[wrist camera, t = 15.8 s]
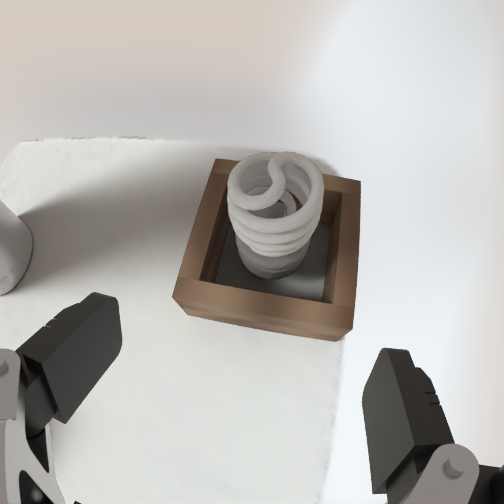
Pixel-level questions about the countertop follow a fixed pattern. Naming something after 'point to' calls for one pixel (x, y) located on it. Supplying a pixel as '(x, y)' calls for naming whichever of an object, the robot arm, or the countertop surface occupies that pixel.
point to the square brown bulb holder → (264, 304)
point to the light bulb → (274, 211)
